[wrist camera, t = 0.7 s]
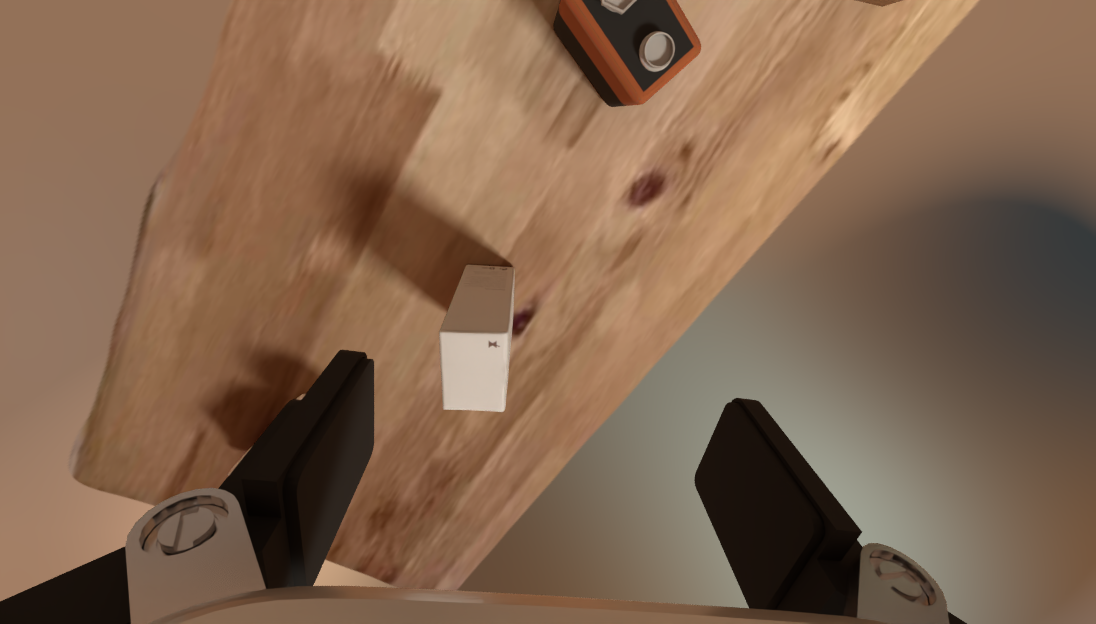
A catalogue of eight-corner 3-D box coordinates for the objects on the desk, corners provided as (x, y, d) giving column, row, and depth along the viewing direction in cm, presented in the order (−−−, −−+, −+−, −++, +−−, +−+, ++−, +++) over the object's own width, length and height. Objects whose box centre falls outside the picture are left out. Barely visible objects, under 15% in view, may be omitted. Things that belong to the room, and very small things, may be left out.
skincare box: (464, 263, 36) (437, 328, 25) (515, 265, 36) (510, 331, 25) (465, 327, 38) (440, 411, 27) (512, 329, 38) (507, 413, 28)
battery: (600, -25, 28) (635, -92, 19) (658, 66, 30) (714, 45, 21) (549, 26, 29) (560, -14, 20) (609, 110, 31) (643, 108, 22)
